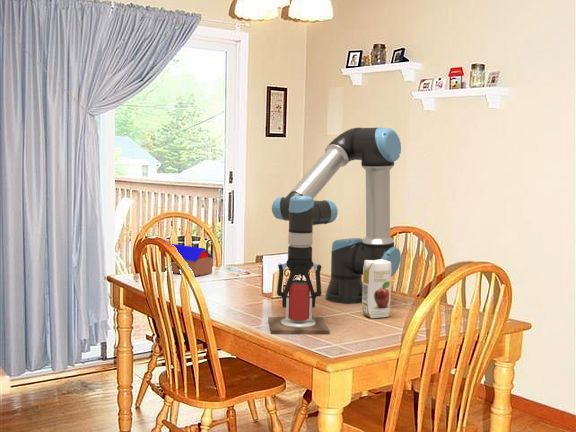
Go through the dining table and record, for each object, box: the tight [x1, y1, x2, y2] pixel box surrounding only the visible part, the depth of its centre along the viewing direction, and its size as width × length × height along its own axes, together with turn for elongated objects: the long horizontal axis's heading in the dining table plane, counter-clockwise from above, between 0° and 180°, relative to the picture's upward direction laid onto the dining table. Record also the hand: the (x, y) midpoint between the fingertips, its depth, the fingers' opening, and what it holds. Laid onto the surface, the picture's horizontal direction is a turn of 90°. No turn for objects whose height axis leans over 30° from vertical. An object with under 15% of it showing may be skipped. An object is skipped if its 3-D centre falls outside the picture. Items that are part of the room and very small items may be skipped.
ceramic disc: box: [281, 318, 316, 328], centre depth 217 cm, size 11×11×1 cm
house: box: [161, 243, 214, 277], centre depth 304 cm, size 12×20×12 cm, turn 57°
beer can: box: [288, 279, 310, 321], centre depth 216 cm, size 7×7×12 cm
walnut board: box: [267, 316, 331, 335], centre depth 217 cm, size 18×16×1 cm
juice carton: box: [361, 259, 392, 319], centre depth 233 cm, size 8×9×19 cm
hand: (298, 317), depth 217 cm, fingers closed on beer can, 6 cm apart
